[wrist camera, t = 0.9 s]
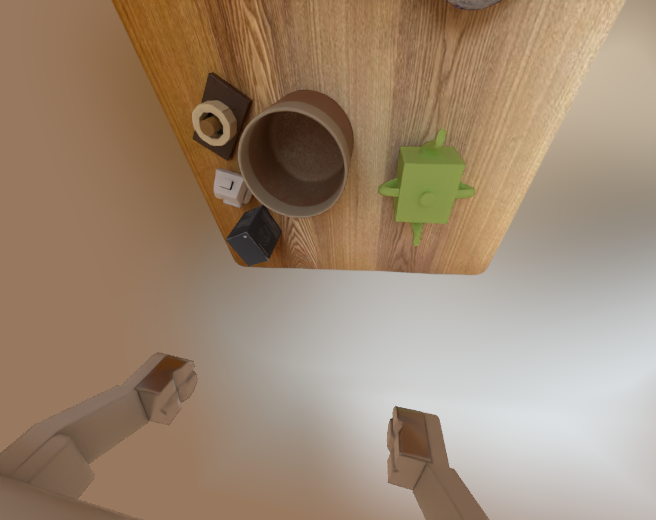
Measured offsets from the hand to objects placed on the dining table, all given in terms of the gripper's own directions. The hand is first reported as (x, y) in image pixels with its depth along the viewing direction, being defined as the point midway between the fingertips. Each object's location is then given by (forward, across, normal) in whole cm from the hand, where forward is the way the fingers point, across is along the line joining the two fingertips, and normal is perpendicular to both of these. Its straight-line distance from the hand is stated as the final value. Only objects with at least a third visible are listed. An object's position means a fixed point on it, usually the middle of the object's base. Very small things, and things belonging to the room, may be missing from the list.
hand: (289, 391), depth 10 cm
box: (+48, +22, +12) cm, 54 cm away
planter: (+44, +10, -7) cm, 46 cm away
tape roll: (+41, +26, -8) cm, 49 cm away
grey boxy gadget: (+46, +25, +2) cm, 52 cm away
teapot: (+46, -10, -3) cm, 48 cm away
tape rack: (+42, +26, -9) cm, 51 cm away
